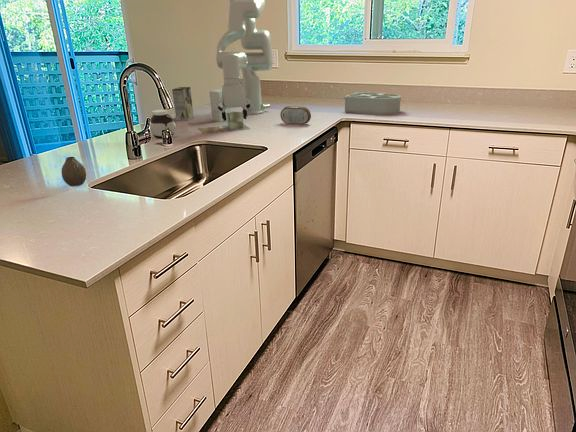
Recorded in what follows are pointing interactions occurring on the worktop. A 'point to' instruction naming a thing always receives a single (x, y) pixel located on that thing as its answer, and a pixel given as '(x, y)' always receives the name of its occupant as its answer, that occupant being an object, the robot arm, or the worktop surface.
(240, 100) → the robot arm
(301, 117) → the tin
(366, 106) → the compartment organizer box
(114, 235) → the worktop surface
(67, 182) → the vase
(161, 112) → the spread jar
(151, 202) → the worktop surface
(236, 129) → the plate
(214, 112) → the skincare box
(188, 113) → the coffee box
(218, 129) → the pad
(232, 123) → the sage block
